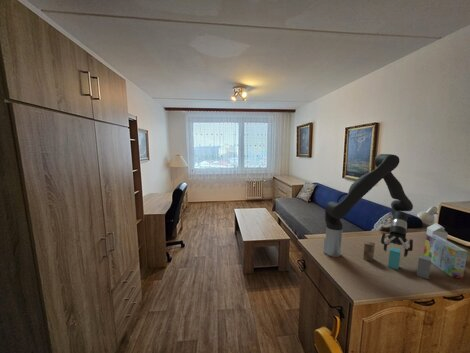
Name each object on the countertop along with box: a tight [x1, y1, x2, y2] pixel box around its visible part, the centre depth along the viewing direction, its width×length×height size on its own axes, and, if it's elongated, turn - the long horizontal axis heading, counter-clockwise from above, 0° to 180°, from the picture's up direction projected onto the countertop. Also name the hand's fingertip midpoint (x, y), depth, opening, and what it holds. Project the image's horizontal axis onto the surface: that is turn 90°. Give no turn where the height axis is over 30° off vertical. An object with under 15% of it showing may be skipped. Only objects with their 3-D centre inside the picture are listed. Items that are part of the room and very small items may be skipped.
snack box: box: [423, 233, 469, 279], centre depth 111 cm, size 21×6×15 cm, turn 168°
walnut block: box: [362, 240, 376, 262], centre depth 120 cm, size 4×4×10 cm
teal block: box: [387, 246, 402, 270], centre depth 112 cm, size 4×4×10 cm
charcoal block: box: [416, 254, 432, 280], centre depth 104 cm, size 4×4×10 cm
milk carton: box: [426, 222, 448, 241], centre depth 127 cm, size 7×7×19 cm
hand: (394, 253), depth 113 cm, fingers open, 8 cm apart
